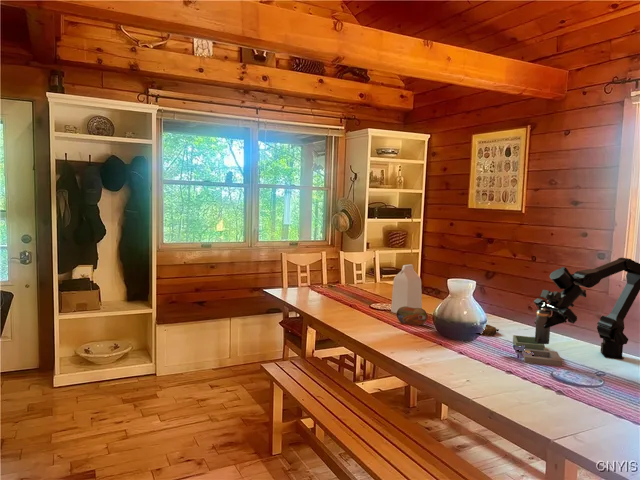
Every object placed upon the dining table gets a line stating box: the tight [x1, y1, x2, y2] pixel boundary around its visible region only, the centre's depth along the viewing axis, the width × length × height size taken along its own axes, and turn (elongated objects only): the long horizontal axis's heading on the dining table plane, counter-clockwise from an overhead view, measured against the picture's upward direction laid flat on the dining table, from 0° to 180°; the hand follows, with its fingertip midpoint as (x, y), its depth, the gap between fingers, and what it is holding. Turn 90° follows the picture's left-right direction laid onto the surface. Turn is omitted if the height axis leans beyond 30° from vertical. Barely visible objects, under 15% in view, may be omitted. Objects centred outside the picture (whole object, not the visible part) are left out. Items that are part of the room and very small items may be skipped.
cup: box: [512, 334, 546, 350], centre depth 187 cm, size 11×11×4 cm
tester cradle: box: [523, 348, 564, 367], centre depth 174 cm, size 13×11×2 cm
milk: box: [390, 264, 423, 314], centre depth 242 cm, size 12×12×26 cm
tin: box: [396, 306, 428, 326], centre depth 221 cm, size 15×3×8 cm, turn 62°
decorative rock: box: [482, 323, 500, 337], centre depth 211 cm, size 11×4×15 cm
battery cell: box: [534, 308, 552, 345], centre depth 173 cm, size 5×5×13 cm
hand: (539, 325), depth 173 cm, fingers closed on battery cell, 5 cm apart
